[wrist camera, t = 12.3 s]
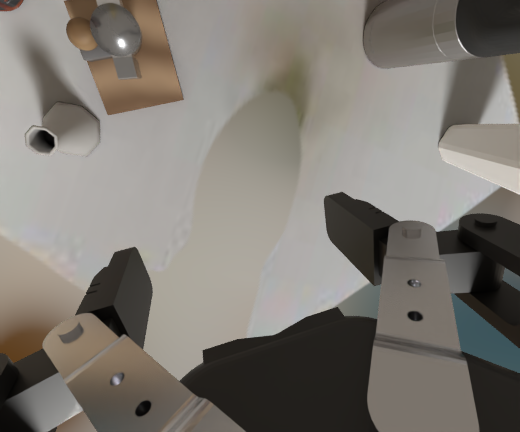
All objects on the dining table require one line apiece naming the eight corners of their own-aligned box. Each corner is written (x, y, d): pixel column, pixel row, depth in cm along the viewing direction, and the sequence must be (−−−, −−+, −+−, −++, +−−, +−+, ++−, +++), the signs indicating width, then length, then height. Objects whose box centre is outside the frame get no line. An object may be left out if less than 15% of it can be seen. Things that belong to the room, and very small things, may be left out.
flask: (36, 141, 40) (-7, 156, 31) (52, 91, 39) (11, 92, 30) (92, 164, 43) (67, 183, 34) (109, 118, 41) (87, 126, 32)
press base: (183, 99, 42) (182, 100, 36) (110, 114, 41) (95, 118, 35) (153, -10, 37) (146, -31, 30) (67, 3, 36) (41, -16, 29)
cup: (424, 133, 54) (519, 150, 38) (471, 101, 53) (586, 105, 38) (439, 181, 58) (529, 213, 43) (482, 152, 58) (588, 173, 43)
